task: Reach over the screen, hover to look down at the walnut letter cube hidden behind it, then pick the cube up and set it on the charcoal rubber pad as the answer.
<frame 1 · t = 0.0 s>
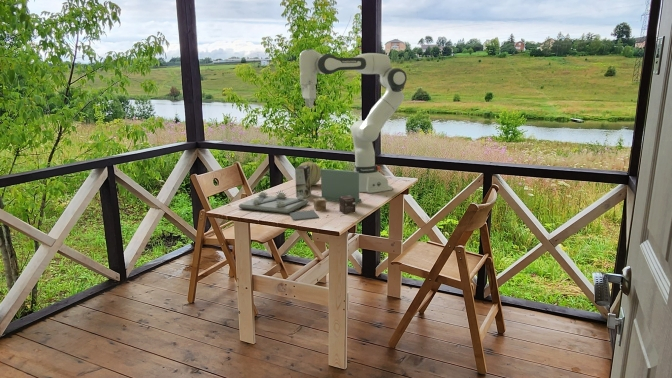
hand: (309, 107, 259), 48 cm above the table, tool pointing down, fingers open, 8 cm apart
screen: (340, 200, 256), on the table
box: (347, 212, 233), on the table
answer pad: (303, 215, 229), on the table
letter cube: (320, 209, 240), on the table
coffee box: (303, 195, 269), on the table
grey spiky constellation board: (274, 206, 247), on the table, touching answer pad
cantaloupe: (309, 185, 292), on the table
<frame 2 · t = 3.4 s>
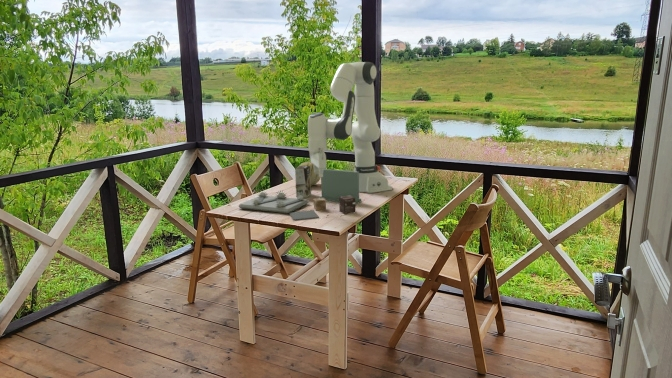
hand: (318, 175, 236), 17 cm above the table, tool pointing down, fingers open, 8 cm apart
nothing on the table moved.
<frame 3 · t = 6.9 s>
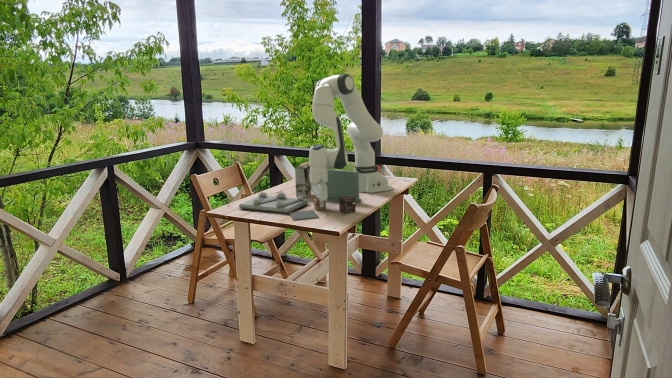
hand: (319, 205, 239), 2 cm above the table, tool pointing down, fingers closed on letter cube, 5 cm apart
letter cube: (320, 209, 240), on the table, touching gripper
everything else where it was.
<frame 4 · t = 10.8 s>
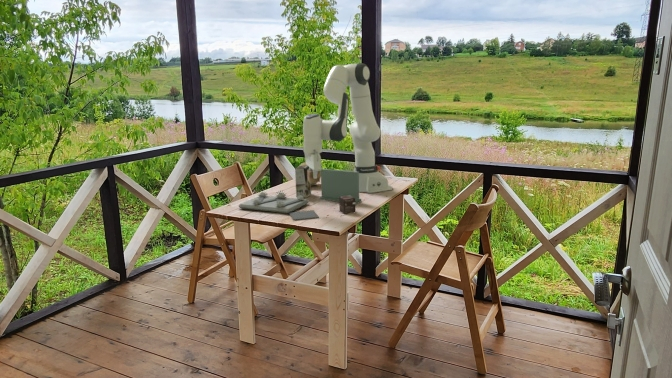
hand: (313, 177, 233), 17 cm above the table, tool pointing down, fingers closed on letter cube, 5 cm apart
letter cube: (313, 181, 233), point 15 cm above the table, touching gripper
everything else where it was.
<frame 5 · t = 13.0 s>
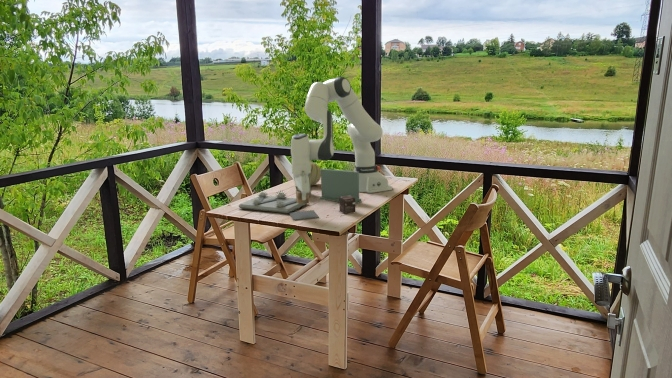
hand: (302, 198, 227), 9 cm above the table, tool pointing down, fingers closed on letter cube, 5 cm apart
letter cube: (302, 202, 227), point 7 cm above the table, touching gripper
everything else where it was.
when the fingers open (4 cm above the table, at t = 14.8 s): letter cube drops 1 cm, resting on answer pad.
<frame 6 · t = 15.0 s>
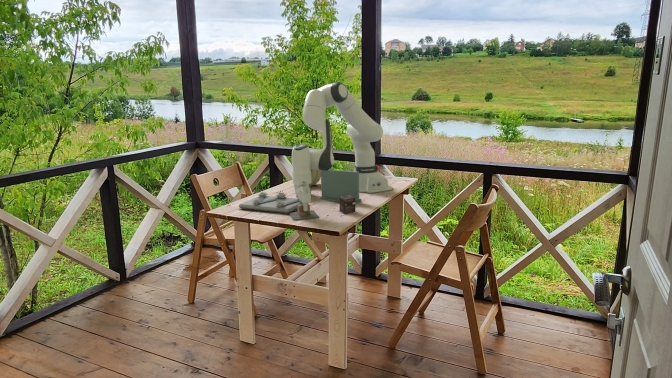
hand: (303, 208, 228), 4 cm above the table, tool pointing down, fingers open, 7 cm apart
letter cube: (303, 214, 229), point 1 cm above the table, touching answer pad
everything else where it was.
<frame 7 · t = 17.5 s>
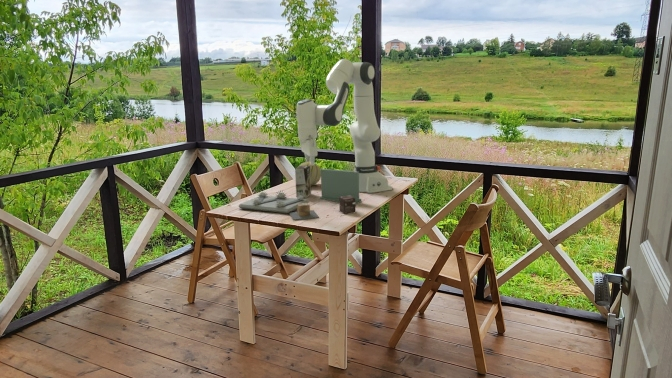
hand: (310, 163, 231), 24 cm above the table, tool pointing down, fingers open, 8 cm apart
nothing on the table moved.
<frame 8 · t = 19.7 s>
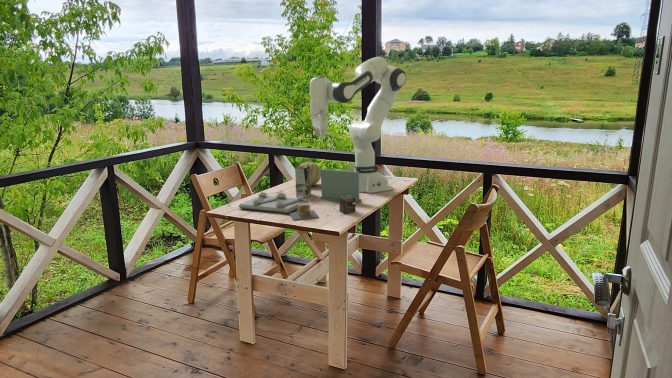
hand: (320, 137, 243), 34 cm above the table, tool pointing down, fingers open, 8 cm apart
nothing on the table moved.
at the end: letter cube inside the target area on the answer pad (0.1 cm from its centre), point 0.6 cm above the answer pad's base; letter cube tilted 0°; the gripper is holding nothing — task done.
